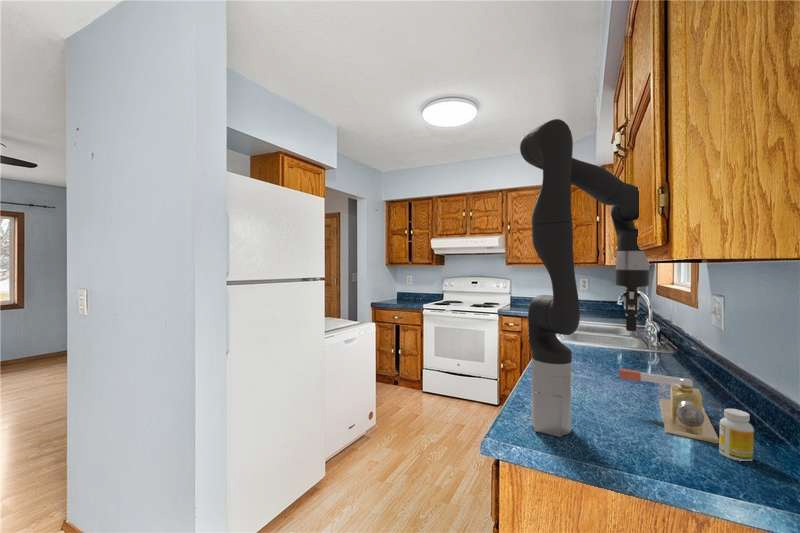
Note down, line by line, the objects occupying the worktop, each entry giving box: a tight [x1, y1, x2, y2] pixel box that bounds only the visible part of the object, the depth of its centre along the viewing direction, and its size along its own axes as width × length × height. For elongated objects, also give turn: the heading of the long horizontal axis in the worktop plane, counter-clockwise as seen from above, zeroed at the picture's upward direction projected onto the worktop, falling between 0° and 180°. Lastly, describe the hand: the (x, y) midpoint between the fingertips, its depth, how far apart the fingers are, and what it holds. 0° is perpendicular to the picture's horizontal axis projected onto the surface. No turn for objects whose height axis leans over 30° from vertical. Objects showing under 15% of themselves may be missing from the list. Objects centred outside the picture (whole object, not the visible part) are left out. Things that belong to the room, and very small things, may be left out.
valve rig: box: [659, 385, 719, 444], centre depth 96 cm, size 24×10×9 cm, turn 147°
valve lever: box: [619, 368, 694, 388], centre depth 99 cm, size 16×3×2 cm, turn 57°
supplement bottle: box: [718, 408, 755, 462], centre depth 78 cm, size 5×5×10 cm
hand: (631, 328), depth 97 cm, fingers open, 8 cm apart
